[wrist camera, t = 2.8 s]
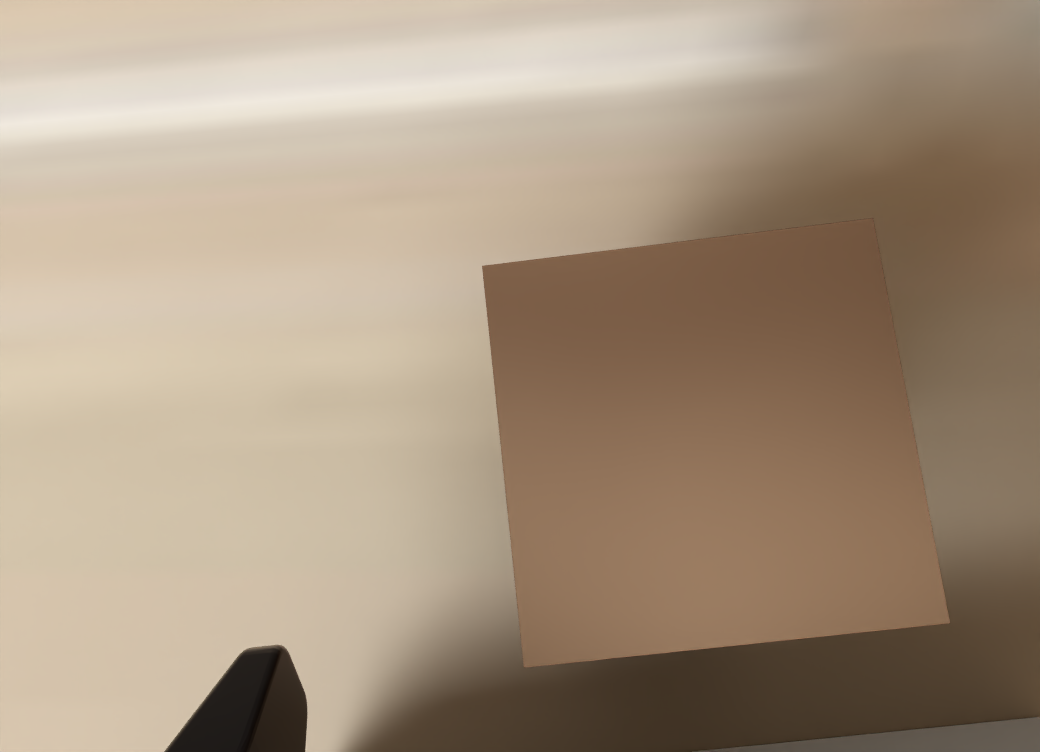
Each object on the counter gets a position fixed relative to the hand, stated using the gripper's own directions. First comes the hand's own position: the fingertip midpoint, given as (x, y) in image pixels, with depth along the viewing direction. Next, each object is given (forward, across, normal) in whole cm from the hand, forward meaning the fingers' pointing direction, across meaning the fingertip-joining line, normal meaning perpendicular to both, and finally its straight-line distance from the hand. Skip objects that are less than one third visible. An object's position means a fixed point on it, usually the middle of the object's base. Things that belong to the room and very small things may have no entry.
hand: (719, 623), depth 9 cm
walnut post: (+8, 0, +5) cm, 9 cm away
